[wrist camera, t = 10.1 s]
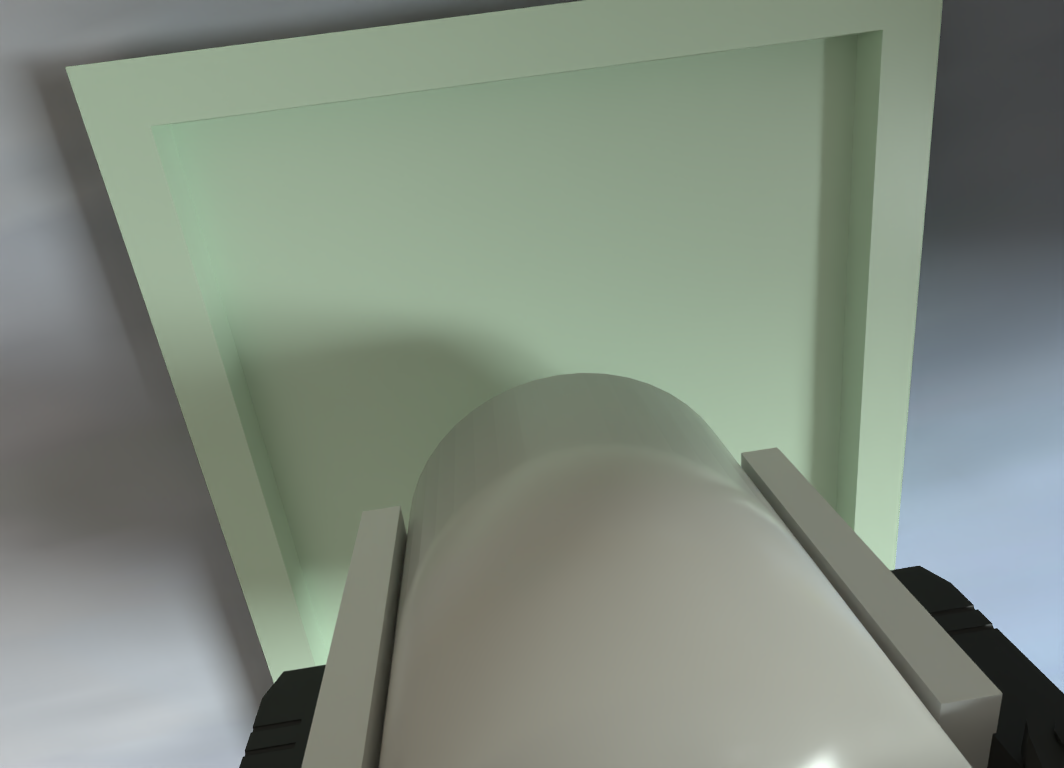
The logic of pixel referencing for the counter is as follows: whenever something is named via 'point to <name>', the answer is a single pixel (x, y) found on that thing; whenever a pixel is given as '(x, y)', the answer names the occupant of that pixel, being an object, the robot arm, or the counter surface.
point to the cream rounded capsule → (625, 605)
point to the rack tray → (521, 248)
